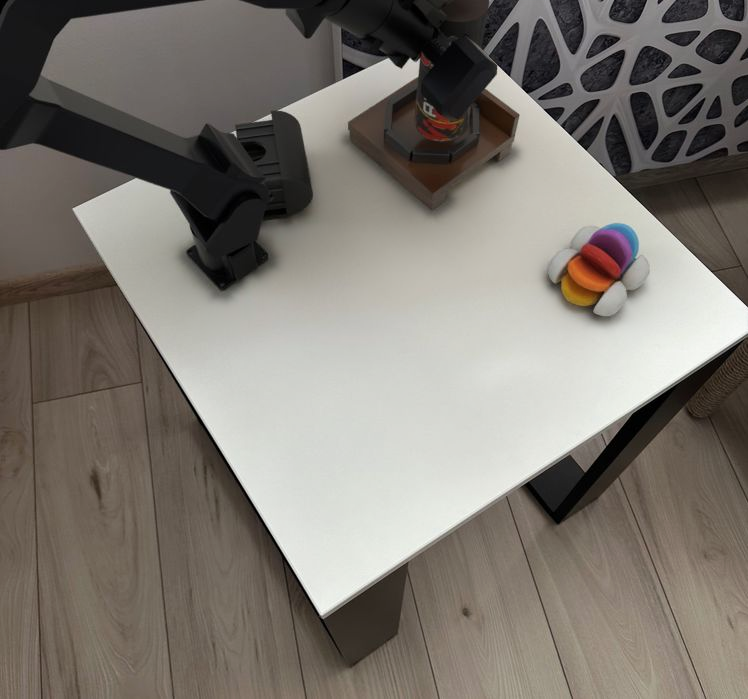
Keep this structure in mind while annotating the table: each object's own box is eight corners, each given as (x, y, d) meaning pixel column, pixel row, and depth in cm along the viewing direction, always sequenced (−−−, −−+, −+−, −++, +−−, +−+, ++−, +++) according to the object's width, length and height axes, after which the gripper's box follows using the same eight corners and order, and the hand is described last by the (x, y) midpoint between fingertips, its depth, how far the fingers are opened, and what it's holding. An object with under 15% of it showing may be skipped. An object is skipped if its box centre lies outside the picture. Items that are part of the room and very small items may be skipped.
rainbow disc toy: (533, 285, 81) (547, 244, 74) (587, 231, 84) (605, 187, 78) (600, 333, 78) (620, 295, 72) (652, 275, 81) (676, 233, 75)
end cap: (315, 217, 85) (311, 175, 79) (251, 226, 84) (242, 185, 78) (303, 149, 90) (298, 106, 84) (242, 157, 89) (233, 114, 83)
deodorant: (474, 109, 85) (495, -13, 72) (460, 147, 82) (480, 28, 69) (422, 96, 86) (435, -26, 73) (407, 134, 83) (417, 13, 70)
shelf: (348, 140, 90) (347, 101, 85) (428, 88, 94) (431, 48, 89) (430, 211, 85) (434, 175, 80) (511, 152, 90) (520, 114, 84)
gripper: (496, -20, 58) (575, 50, 71) (367, -142, 65) (459, -60, 78) (403, 99, 63) (492, 144, 75) (293, -28, 70) (391, 32, 83)
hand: (459, 61), depth 78 cm, fingers closed on deodorant, 6 cm apart
